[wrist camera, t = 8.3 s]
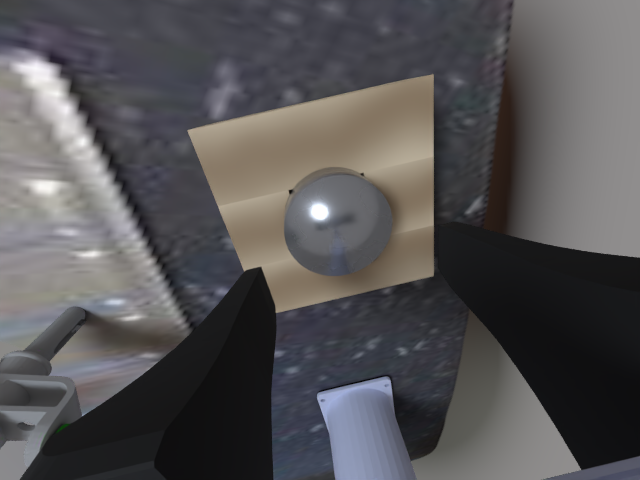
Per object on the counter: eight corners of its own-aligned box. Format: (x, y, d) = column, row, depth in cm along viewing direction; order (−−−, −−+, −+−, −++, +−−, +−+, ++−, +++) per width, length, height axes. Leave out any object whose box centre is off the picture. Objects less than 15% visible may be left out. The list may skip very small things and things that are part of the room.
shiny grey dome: (369, 224, 20) (395, 263, 15) (295, 241, 20) (298, 285, 15) (359, 146, 17) (387, 163, 13) (274, 166, 17) (270, 191, 13)
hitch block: (410, 248, 22) (433, 276, 18) (266, 281, 22) (262, 316, 18) (401, 80, 16) (433, 74, 13) (208, 124, 16) (187, 130, 13)
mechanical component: (148, 334, 23) (62, 479, 14) (4, 322, 21) (-204, 484, 12) (147, 306, 22) (52, 447, 13) (-7, 292, 20) (-247, 447, 11)
